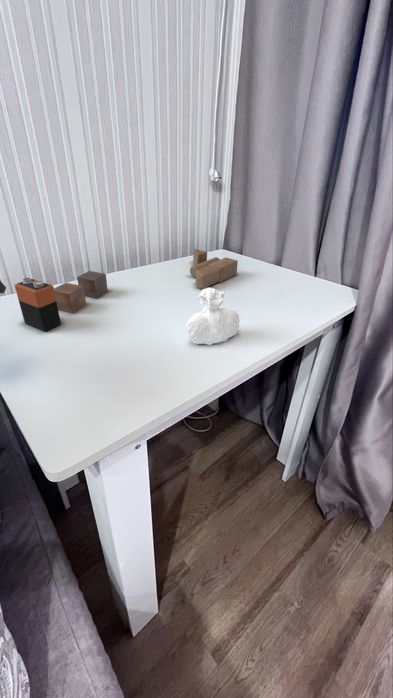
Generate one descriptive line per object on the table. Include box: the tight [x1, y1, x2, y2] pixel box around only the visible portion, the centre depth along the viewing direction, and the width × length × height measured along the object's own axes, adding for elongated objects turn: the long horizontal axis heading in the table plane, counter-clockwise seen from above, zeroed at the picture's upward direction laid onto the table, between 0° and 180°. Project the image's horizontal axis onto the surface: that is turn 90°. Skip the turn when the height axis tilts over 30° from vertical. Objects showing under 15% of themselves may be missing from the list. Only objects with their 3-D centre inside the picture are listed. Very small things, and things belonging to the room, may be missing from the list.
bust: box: [185, 287, 241, 346], centre depth 68 cm, size 12×8×11 cm
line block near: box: [54, 282, 87, 315], centre depth 77 cm, size 5×5×5 cm
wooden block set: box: [189, 248, 239, 290], centre depth 99 cm, size 17×6×18 cm
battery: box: [14, 277, 62, 332], centre depth 68 cm, size 4×7×10 cm, turn 60°
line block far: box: [76, 270, 109, 300], centre depth 84 cm, size 5×5×5 cm
